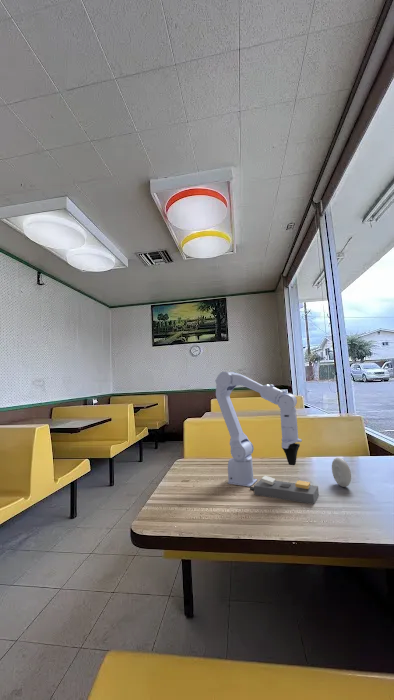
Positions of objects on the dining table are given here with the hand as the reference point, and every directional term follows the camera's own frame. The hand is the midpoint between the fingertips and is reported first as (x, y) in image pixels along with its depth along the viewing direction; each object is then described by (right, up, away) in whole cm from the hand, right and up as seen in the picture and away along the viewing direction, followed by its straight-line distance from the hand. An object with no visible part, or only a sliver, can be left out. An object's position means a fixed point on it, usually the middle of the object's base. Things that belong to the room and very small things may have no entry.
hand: (292, 464), depth 110 cm
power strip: (-5, -8, -5) cm, 11 cm away
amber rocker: (+1, -4, -9) cm, 9 cm away
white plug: (-9, -5, -2) cm, 11 cm away
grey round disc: (+18, -8, -1) cm, 20 cm away
